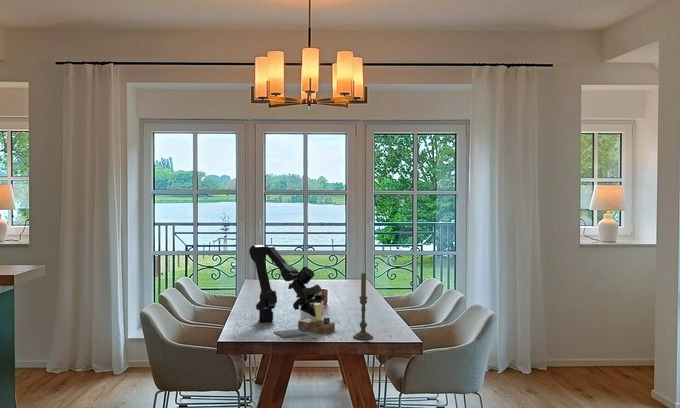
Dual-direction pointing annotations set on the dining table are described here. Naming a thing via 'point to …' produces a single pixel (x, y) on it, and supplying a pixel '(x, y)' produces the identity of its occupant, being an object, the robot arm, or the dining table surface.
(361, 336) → the candlestick holder
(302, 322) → the body
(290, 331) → the rubber mat
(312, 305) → the tan wood-grain block
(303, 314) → the mug
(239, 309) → the dining table surface
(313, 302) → the robot arm
